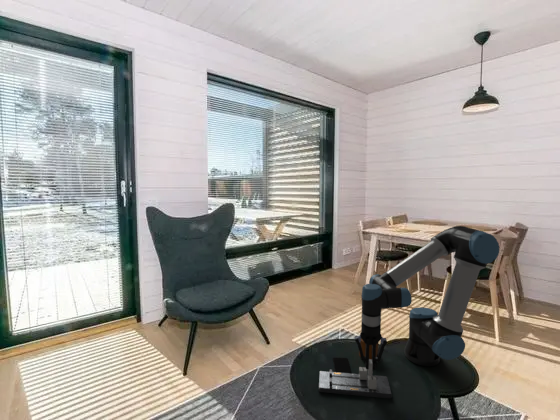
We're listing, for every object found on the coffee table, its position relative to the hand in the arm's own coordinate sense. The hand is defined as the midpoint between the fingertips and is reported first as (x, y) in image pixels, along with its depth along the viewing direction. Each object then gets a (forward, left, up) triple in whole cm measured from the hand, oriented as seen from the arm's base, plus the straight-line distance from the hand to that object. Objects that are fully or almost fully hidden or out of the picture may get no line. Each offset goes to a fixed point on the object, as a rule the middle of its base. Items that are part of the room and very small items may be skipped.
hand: (370, 375), depth 127 cm
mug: (-1, -21, -4) cm, 21 cm away
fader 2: (0, +5, -1) cm, 5 cm away
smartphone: (+11, -8, -4) cm, 14 cm away
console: (+7, +2, -4) cm, 8 cm away
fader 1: (+3, 0, -1) cm, 3 cm away
